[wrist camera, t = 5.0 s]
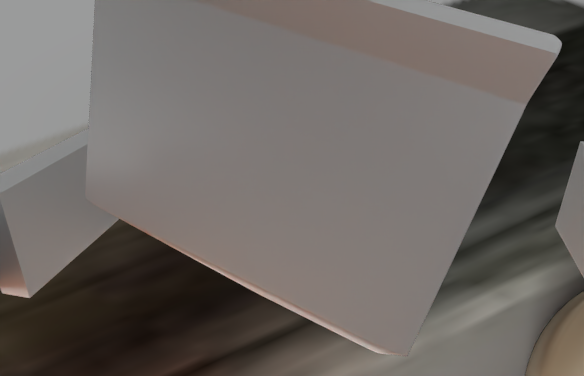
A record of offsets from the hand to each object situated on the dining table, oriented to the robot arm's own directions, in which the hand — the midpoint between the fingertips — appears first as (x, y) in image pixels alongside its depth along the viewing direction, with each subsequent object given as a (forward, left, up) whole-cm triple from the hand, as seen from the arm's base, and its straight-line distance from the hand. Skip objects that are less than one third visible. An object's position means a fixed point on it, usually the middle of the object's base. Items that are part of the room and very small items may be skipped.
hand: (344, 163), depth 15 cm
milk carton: (0, -1, -10) cm, 10 cm away
